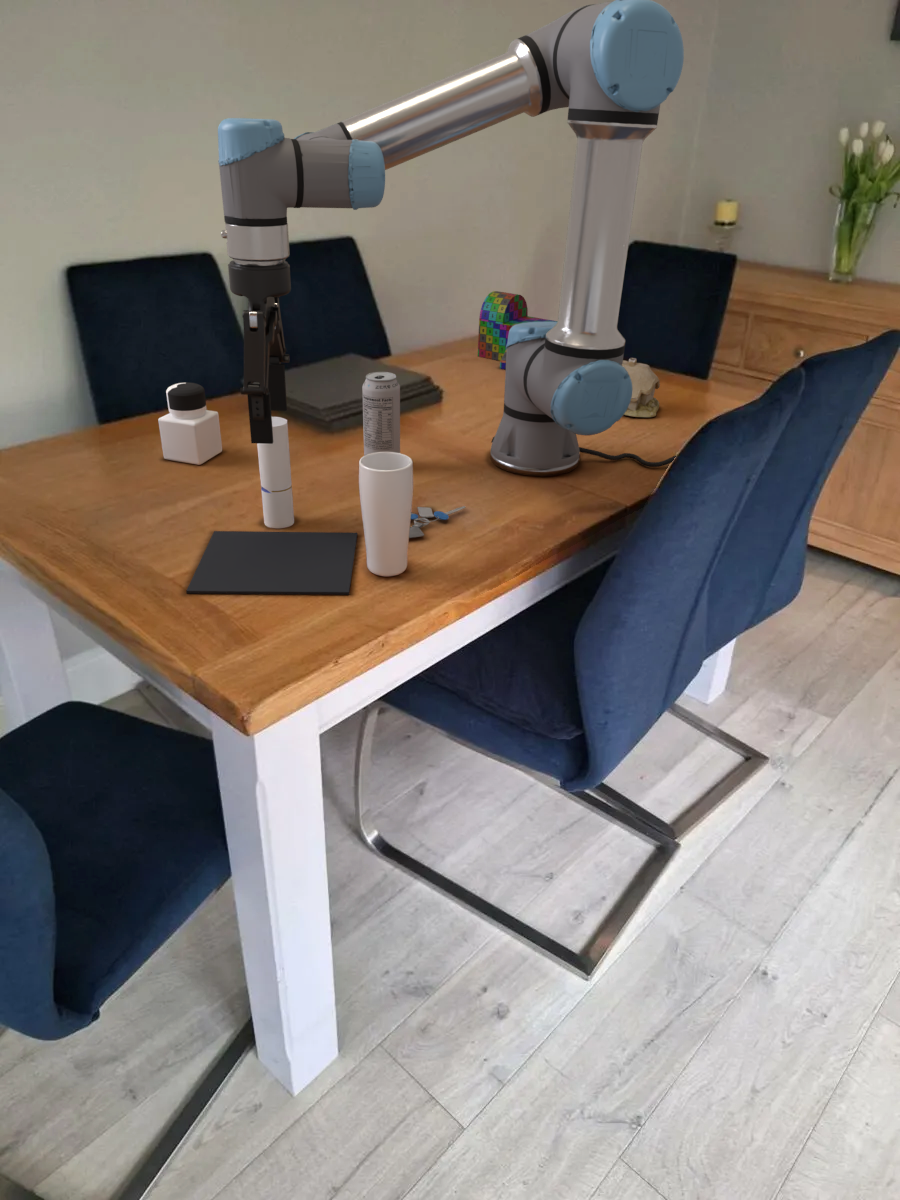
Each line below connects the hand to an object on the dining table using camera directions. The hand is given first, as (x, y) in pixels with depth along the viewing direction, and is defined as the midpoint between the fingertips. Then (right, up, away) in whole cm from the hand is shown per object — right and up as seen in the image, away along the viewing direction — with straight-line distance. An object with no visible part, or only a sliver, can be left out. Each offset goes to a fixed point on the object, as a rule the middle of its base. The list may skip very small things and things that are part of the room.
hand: (270, 425), depth 119 cm
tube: (0, -13, +7) cm, 15 cm away
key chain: (+20, -12, +9) cm, 25 cm away
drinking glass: (+16, -20, -4) cm, 26 cm away
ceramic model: (+60, +15, +58) cm, 85 cm away
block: (+43, +32, +86) cm, 101 cm away
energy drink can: (+13, -1, +28) cm, 31 cm away
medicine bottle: (-19, +1, +29) cm, 35 cm away
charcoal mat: (+2, -19, -3) cm, 19 cm away
